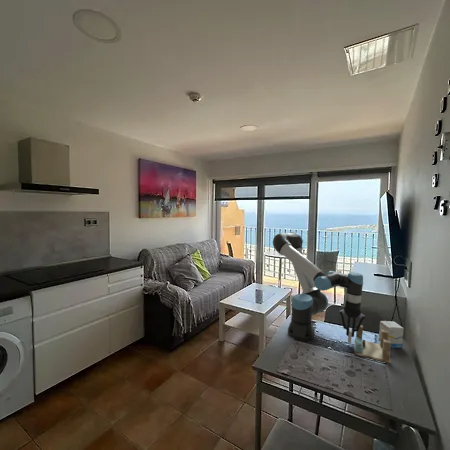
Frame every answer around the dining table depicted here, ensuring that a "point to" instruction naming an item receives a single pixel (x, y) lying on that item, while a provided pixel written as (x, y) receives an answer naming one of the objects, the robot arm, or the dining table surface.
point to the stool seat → (375, 347)
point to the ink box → (392, 333)
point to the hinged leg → (359, 344)
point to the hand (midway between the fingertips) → (349, 341)
